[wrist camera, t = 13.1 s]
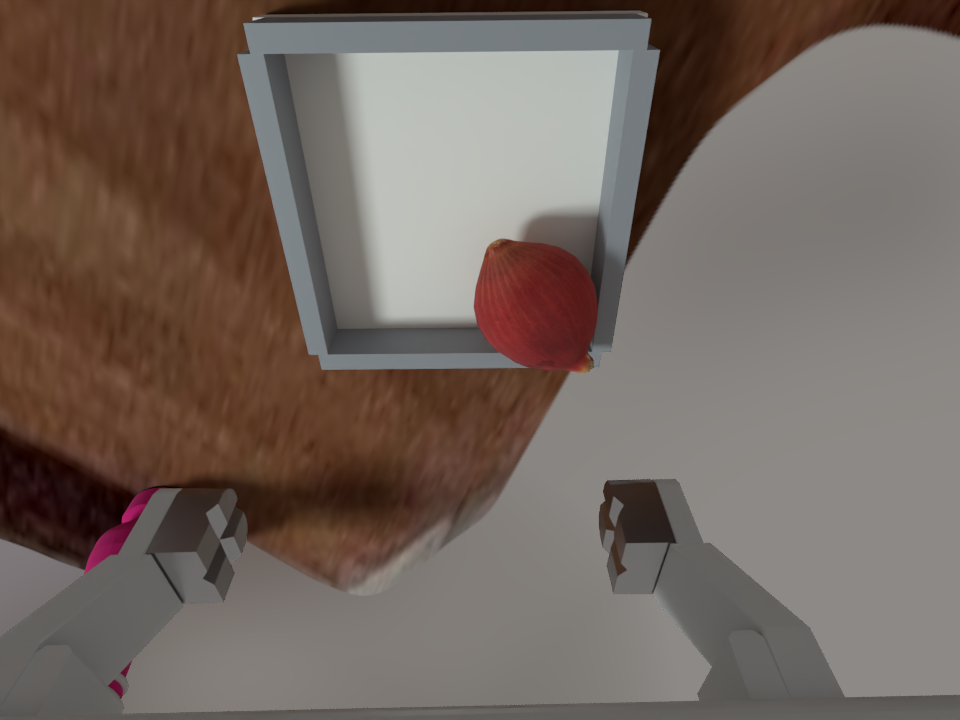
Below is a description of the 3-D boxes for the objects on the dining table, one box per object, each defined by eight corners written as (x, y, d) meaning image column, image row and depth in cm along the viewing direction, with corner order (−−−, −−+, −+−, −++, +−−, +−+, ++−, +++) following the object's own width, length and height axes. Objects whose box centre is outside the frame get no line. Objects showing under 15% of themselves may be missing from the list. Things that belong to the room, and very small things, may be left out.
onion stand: (264, 14, 23) (229, 23, 20) (639, 10, 23) (665, 18, 20) (328, 329, 33) (312, 369, 30) (595, 326, 33) (608, 367, 29)
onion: (457, 264, 30) (542, 378, 31) (428, 293, 24) (532, 428, 26) (545, 198, 27) (632, 324, 29) (534, 214, 22) (640, 366, 24)
